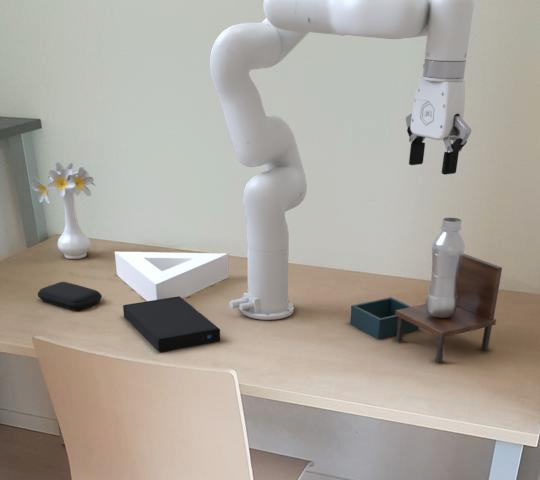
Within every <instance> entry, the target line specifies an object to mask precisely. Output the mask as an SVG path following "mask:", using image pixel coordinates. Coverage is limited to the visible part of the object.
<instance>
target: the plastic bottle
mask: <svg viewBox="0 0 540 480" xmlns="http://www.w3.org/2000/svg"><path fill="white" fill-rule="evenodd" d="M462 221H463V220H462V219H461V218H457V217H444V218H442V221H441V226H440V229H441V232H440V233H439V234H438V235H437V236H436V237H435V238H434V240H433V242H432V244H431V278H430V283H429V287H428V293H427V295H426V297H425V298H426V299H425V303H424V304H425V305H426V311H427V313H428V314H429V315H431V316H434V317H439V318H446V317H451V316H453V315H454V313H455V312H456V309H457V306H458V297H457V284H458V273H459V270H460V265H461V261H462V257H463V254H465V249H466V246H465V241H464V239H463V237H462V234H461V233H460V231H461V230H462Z"/></svg>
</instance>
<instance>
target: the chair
mask: <svg viewBox="0 0 540 480" xmlns="http://www.w3.org/2000/svg"><path fill="white" fill-rule="evenodd" d="M502 271H503V266H500V265H497V264H493V263H491V262H488V261H485V260H483V259H481V258H477V257H474V256H472V255H469V254H466V253H464V254H463V257H462V261H461V265H460V270H459V273H458V284H457V297H458V306H457V309H456V312H455V313H454V315H453V316H451V317H446V318H439V317H434V316H431V315H429V314H428V313H427V311H426V305H425V303H422V304H418V305H415V306H414V305H413V306H411V307H408V308H404V309H399V310H396V313H395V316H397V317H398V325H397V335H395V341H396V342H397V343H401V342H403V338H404V337H403V336H404V333H403V328H404V320H406V321H408V322H410V323H412V324H414V325H416V326H418V327H419V328H420V329H422V330H423V331H426V332H428V333H430V334H433V335H434V336H436V337H438V339H437V347H436V353H435V363H437V364H440V363H443V356H444V349H445V342H446V338H448V337H452V336H456V335H461V334H464V333H465V334H466V333H468V332H473V331H477V330H480V329H484V331H483V336H482V341H481V351H483V352H486V351H488V350H489V345H490V339H491V333H492V327H493V326H496V323H497V319H496V318H495V312H496V308H497V300H498V294H499V289H500V284H501V283H500V282H501V279H502V278H501V277H502Z"/></svg>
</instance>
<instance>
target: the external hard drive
mask: <svg viewBox="0 0 540 480" xmlns="http://www.w3.org/2000/svg"><path fill="white" fill-rule="evenodd" d="M122 311H123V317H124V319H126V320H127V322H129V324H131V326H133V328H135V329H136V331H138V332H139V333H140V334H141V336H143V338H145V339H146V340H147V341H148V342H149V343H150V344H151V345H152V346H153V348H154V349H156V350H157V351H158V352H159V353H165V352H170V351H177V350H180V349H181V350H182V349H187V348H191V347H198V346H202V345H208V344H213V343H220V342H221V328H219V327H218V326H217V325H216V324H214V323H213V322H212V321H211V320H209V319H208V318H207V317H206V316H205V315H204V314H203V313H201V312H200V311H198V310H197V309H196V308H195V307H193V306H192V305H191V304H190V303H189V302H187V301H186V300H184V298H183V299H182V298H181V297H180V296H178V297H172V298H165V299H159V300H153V301H146V300H145V301H140V302H134V303H127V304H123V305H122Z"/></svg>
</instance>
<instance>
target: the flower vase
mask: <svg viewBox="0 0 540 480" xmlns="http://www.w3.org/2000/svg"><path fill="white" fill-rule="evenodd" d="M73 167H74V164H73V162H69V163H67V165H65V167H64V166H63V165H62V163H61V162H58V161H56V162H55V163H54V169H49V171H48V174H49V175H48V179H50V181H49V182H47V184H46V185H45V184H44V183H42V182H41V180H39V179H38V178H37V177H36V176H33V181H34V183H30V184H29V187H30V188H31V189H32V191H35V192H38V194H37V200H38V202H39V203H40V204H41V203H43V201H44V200H45V202H46V203H47V204H49V205H50V204H51V201H50V197H49V192H50V191H54V190H57V195H58V196H59V197H60V198H62V202H63V208H64V209H63V211H64V227H63V228H64V229H63V232H62V233H61V235H59V237H58V239H57V243H56V244H57V245H56V247H57V248H58V250H59V251H60V252H61V253H62V254H64V255H63V256H64V258H65V259H69V260H80V259H83V258H86V257H87V254H88V253H87V252H89V251H90V249H91V247H92V243H91V240H90V238H89V237H88V235H86V233H84V232H83V231H82V229H81V227H80V224H79V221H78V217H77V209H76V205H75V204H76V203H75V196H80V194H81V193H83V194H84V195H85V196H87V197H91V195H92V192H91V190H90V188H89V187H88V186H89V185H93V186H94V187H96V184H95V183H94V177H92V176H90V174H89V172H88V171H87V170H86V169H85V167H84V165H83V164H82V162H81V160H79V168H78V171H74V172H73Z"/></svg>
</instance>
